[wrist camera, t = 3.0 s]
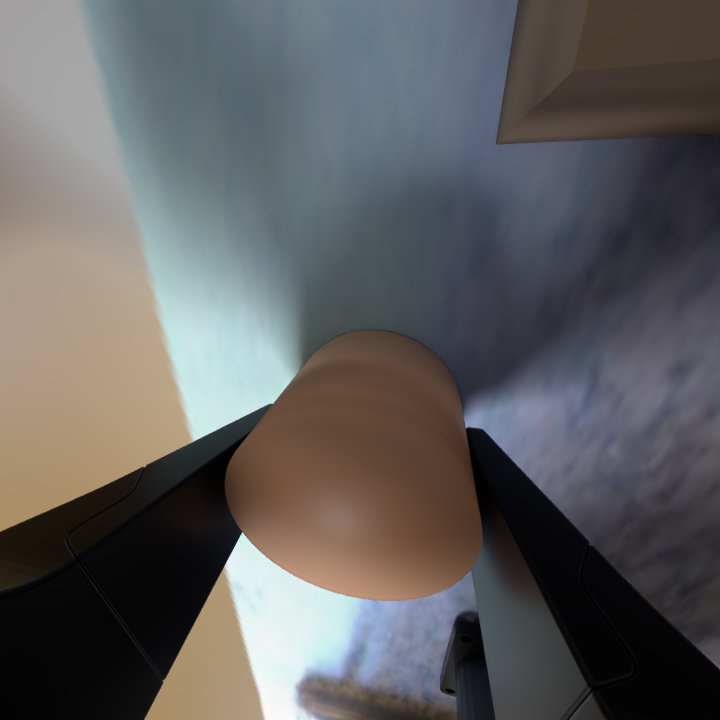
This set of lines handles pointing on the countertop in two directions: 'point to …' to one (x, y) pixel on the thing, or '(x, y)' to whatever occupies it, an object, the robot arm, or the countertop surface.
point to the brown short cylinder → (362, 473)
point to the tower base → (612, 70)
